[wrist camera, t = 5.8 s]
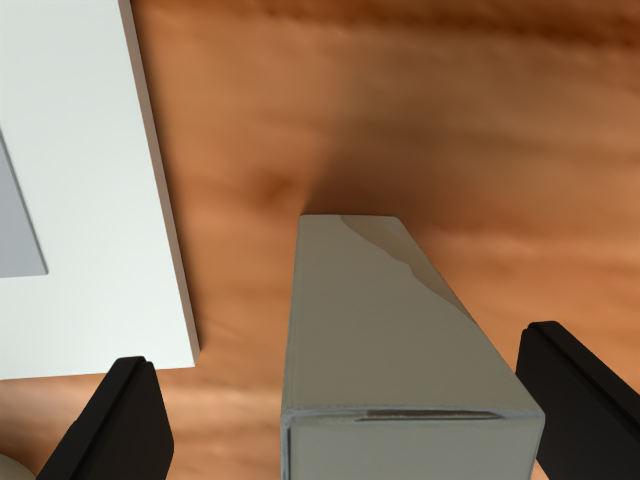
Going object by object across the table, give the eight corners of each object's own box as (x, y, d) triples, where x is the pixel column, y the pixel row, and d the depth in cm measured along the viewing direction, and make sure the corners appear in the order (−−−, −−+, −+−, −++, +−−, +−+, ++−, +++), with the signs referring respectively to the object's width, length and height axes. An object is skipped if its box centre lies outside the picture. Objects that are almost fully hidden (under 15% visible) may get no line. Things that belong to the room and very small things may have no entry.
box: (389, 318, 18) (497, 621, 8) (296, 317, 18) (280, 626, 8) (400, 208, 16) (562, 418, 6) (296, 207, 16) (276, 419, 6)
